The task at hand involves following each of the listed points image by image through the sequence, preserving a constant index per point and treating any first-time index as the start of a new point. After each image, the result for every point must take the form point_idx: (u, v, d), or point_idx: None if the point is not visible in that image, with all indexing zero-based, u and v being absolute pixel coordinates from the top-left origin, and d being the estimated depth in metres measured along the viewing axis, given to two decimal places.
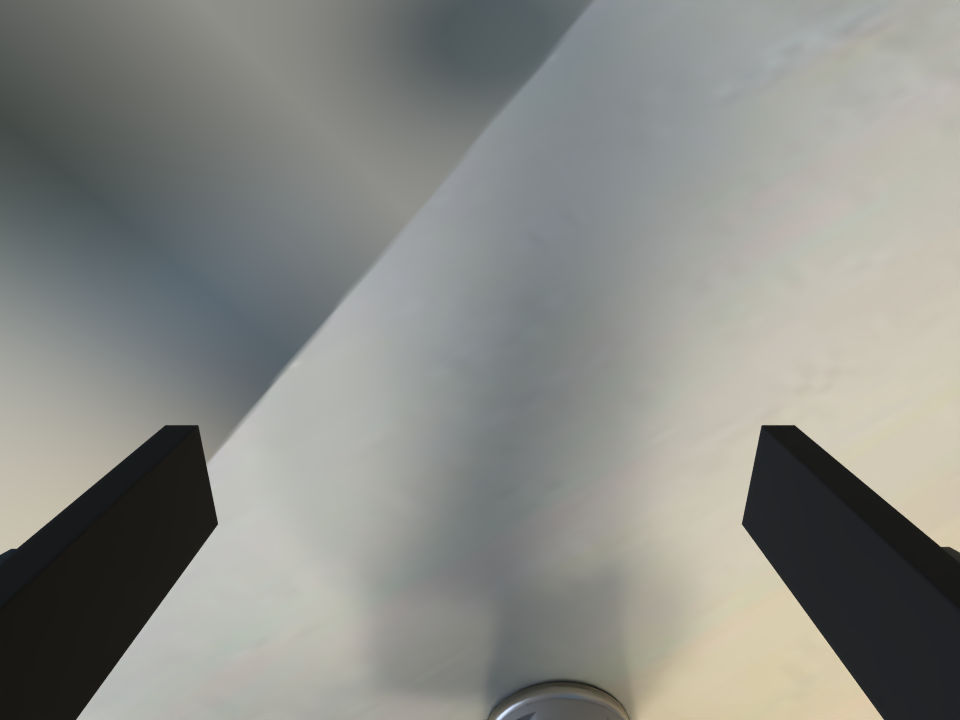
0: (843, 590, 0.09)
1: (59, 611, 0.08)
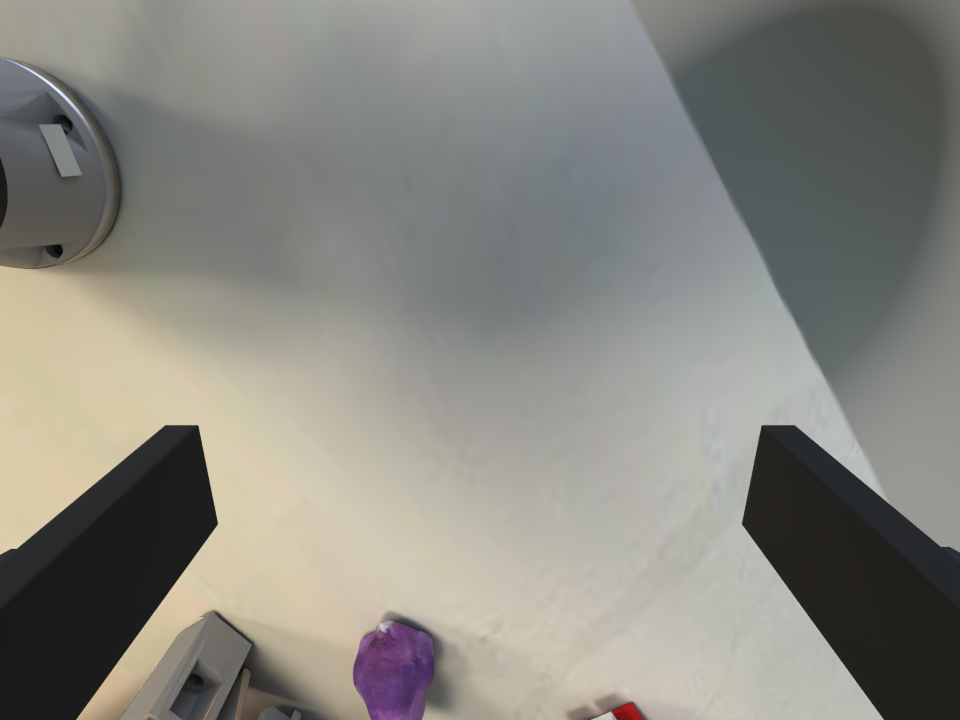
0: (843, 590, 0.09)
1: (58, 611, 0.08)
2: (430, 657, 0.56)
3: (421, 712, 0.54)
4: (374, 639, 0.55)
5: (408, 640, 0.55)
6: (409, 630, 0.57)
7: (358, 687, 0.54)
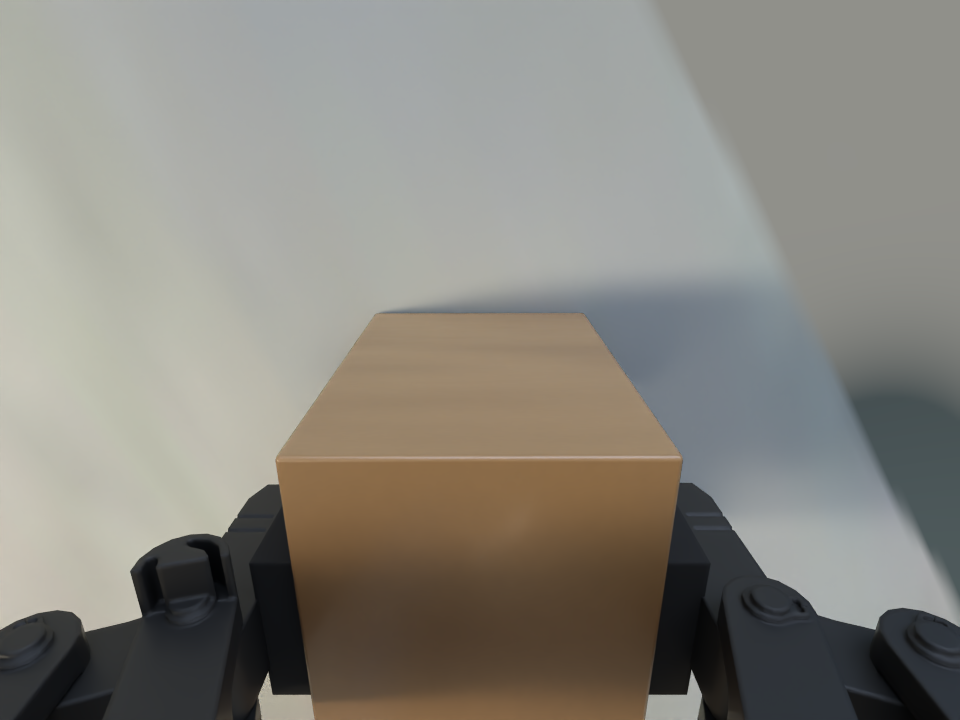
0: None
1: None
2: None
3: None
4: None
5: None
6: None
7: None
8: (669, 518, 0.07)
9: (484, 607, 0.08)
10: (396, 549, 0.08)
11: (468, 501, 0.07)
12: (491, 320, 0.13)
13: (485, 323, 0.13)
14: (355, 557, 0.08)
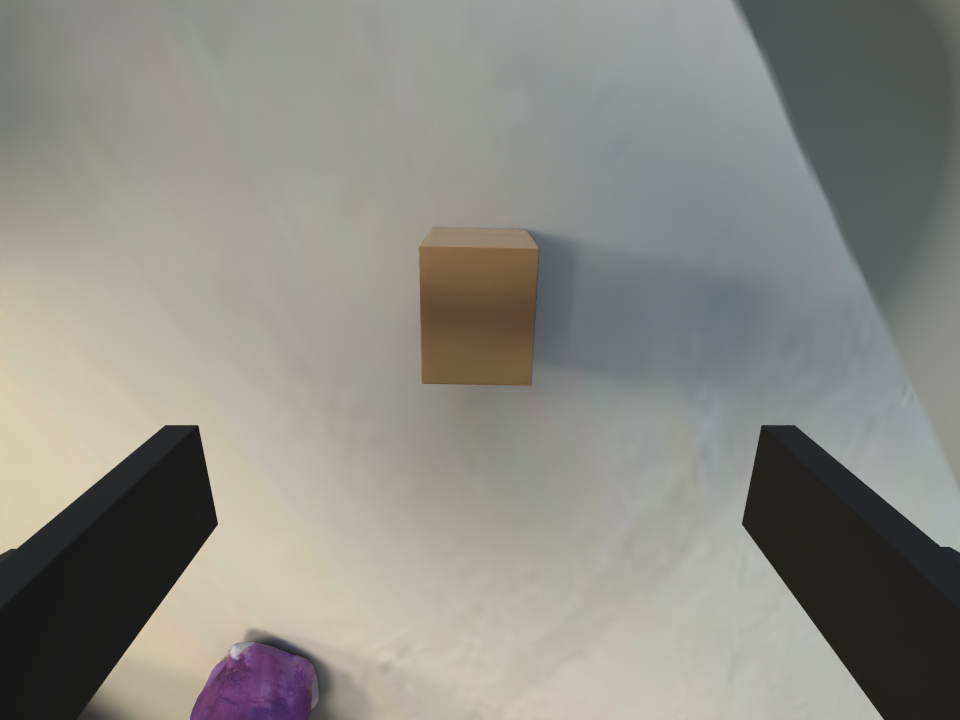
0: (843, 590, 0.09)
1: (58, 611, 0.08)
2: (303, 694, 0.40)
3: None
4: (223, 669, 0.39)
5: (270, 670, 0.39)
6: (277, 655, 0.40)
7: None
8: (536, 269, 0.25)
9: (479, 300, 0.25)
10: (453, 278, 0.25)
11: (475, 261, 0.24)
12: (484, 229, 0.30)
13: (482, 230, 0.30)
14: (440, 281, 0.25)
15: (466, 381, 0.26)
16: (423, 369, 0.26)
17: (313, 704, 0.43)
